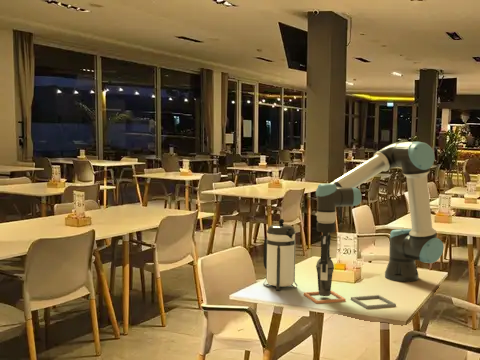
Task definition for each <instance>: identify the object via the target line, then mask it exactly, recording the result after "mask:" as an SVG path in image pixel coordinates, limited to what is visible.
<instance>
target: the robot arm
mask: <svg viewBox="0 0 480 360" xmlns="http://www.w3.org/2000/svg"><path fill="white" fill-rule="evenodd" d="M435 159H436V156H435V152H434V149H433V148H432V146H430V145H429V144H428V143H426V142H421V141H418V140H417V141H397V142H393V143H391V144H388V145H386V146H384V147H383V148H380V150H378V151H376V152H374V154H373V156H372V157H371V158H369V159H367V160H366V161H364V162H362V163H360V164H359V165H357V166H356V167H354V168H353V169H351V170H349V171H347V172H346V173H345V174H343V175H342V176H339V177H338V178H336V179H334V180H333V181H332V182H330V183H319V184H318V185H317V187H316V190H315V196H316V213H315V216H316V221H317V222H316V232H319V233H322V234H321V235H320V239H319V240H320V258H321V261H320V262H319V264H321V279H320V280H327V277H328V262H327V259H328V258H330V259H331V260H332V257H330V256H331V255H330V250H331V248H330V247H331V239H332V235H331V233H334V232H336V223H335V222H336V217H337V216H336V215H337V211H336V210H337V209H336V208H338V207H339V208H340V207H354V206H355V207H357V206H358V205H360V204H361V202H362V193H361V190H360V189H359V188H357V187H358V186H360V185H362V184H364V183H366V182H367V181H369V180H370V179H372V178H374V177H375V176H377V175H378V174H380V173H381V172H387V171H389V170H391V169H395V168H401V172H402V173H401V174H402V175H404V177H405V178H406V185H407V187H406V188H407V195H408V196H407V197H408V206H409V213H410V221H411V228H399V229H398V228H397V229H392V230H391V231H390V233H389V234H390V235H389V258H388V259H389V261H388V263H387V267H385V268H386V269H385V271H384V277H385V278H386V279H387V280H391V281H397V282H416V281H418V280H419V271H418V267H417V265H416V261H418V262H422V263H424V264H425V263H427V264H434V263H436V262H437V261H439V260H440V258H441V256H442V255H443V252H444V243H443V241H442V240H441V239H440V238H439V237H437V230H436V229H435V228H433V223H432V213H431V212H432V211H431V204H430V195H429V194H430V193H429V185H428V174H430V172H431V168H432V166H433V165H434V162H435ZM323 260H325V261H323Z"/></svg>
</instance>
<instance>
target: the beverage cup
mask: <svg viewBox="0 0 480 360" xmlns="http://www.w3.org/2000/svg"><path fill="white" fill-rule="evenodd" d="M320 261H321V257H320V258H319V259H318V260H317V261H316V265H315V268H316V272H317V273H316V274H317V275H316V276H317V290H318V291H319V294H318V295H319V297H320V296H321V297H330V296H331V294H330V291H332V282H333V273H334V268H335V265H334V262H333V260H332V258H331V259H330V258H328V259H327V262H328V277H327V280H320V279H321V264H319V262H320ZM323 261H325V260H323ZM318 291H317V292H318Z"/></svg>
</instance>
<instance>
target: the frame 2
mask: <svg viewBox="0 0 480 360" xmlns="http://www.w3.org/2000/svg"><path fill="white" fill-rule="evenodd" d="M370 299H371V300H372V299H373V300H374V299H379V300H381V302H382V301H383V302H384V303H382V304H370V305H367V304H366V303H364V302H362V301H361V300H370ZM350 300H351V301H353V302H354V303H356V304H357V305H359V306H361V307H362V308H364V309H366V310H368V309H370V310H372V309H380V308H394V307H396V306H397V303H395V302H393V301H391V300H390V299H388V298H385V297H384V296H381V295H380V294H376V295H375V294H374V295H362V296H350Z"/></svg>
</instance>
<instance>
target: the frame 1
mask: <svg viewBox="0 0 480 360" xmlns="http://www.w3.org/2000/svg"><path fill="white" fill-rule="evenodd" d="M315 295H319V291H307V292H305V291H304V292H303V296H304V297H306V298H308V300H310V301H312V302H313V303H315V304H329V303H330V304H331V303H341V302H342V301H344V302H346V300H347V298H345V297H343V296H342V295H340V294H338V293H336V292H335V291H333V290H331V291H330V295H332V296H334V297H335V296H336V297H335V298H332V299H331V298H330V299H321V300H319V299H316V298H315V297H313V296H315Z"/></svg>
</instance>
